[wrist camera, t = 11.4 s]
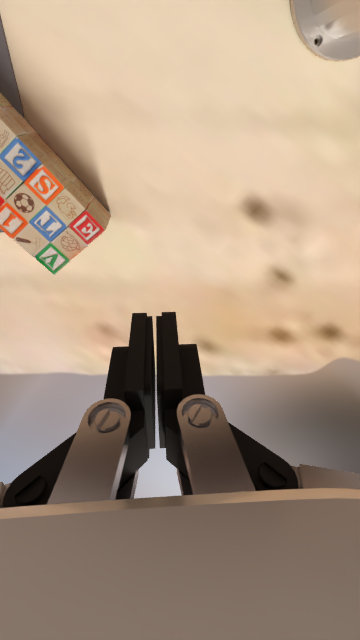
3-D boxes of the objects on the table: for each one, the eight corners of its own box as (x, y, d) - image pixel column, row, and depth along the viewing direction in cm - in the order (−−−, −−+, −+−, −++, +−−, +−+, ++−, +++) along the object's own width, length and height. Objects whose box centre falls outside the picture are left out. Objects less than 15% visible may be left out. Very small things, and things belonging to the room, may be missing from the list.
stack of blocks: (107, 230, 36) (39, 289, 40) (113, 214, 41) (52, 268, 45) (-80, 35, 26) (-147, 140, 30) (-41, 46, 31) (-103, 134, 35)
